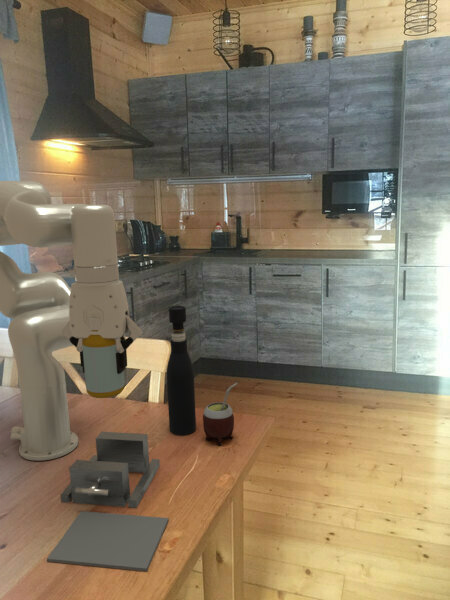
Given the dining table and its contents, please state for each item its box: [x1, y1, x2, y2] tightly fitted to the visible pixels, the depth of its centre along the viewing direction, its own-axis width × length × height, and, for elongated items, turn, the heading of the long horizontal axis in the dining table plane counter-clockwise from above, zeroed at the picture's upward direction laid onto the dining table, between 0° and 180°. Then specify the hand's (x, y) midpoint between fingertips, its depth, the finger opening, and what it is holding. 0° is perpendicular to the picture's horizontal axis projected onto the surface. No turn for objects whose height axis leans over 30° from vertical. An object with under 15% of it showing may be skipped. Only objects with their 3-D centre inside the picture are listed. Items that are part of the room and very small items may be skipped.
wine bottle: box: [166, 305, 197, 437], centre depth 116 cm, size 6×6×30 cm
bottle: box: [82, 318, 125, 399], centre depth 92 cm, size 7×7×15 cm
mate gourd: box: [202, 382, 239, 447], centre depth 112 cm, size 8×8×15 cm
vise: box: [60, 431, 161, 509], centre depth 96 cm, size 14×17×7 cm
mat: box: [46, 510, 169, 572], centre depth 81 cm, size 16×12×1 cm
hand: (104, 370), depth 92 cm, fingers closed on bottle, 5 cm apart
